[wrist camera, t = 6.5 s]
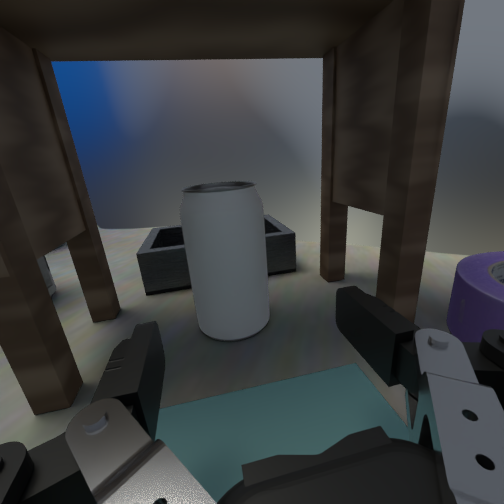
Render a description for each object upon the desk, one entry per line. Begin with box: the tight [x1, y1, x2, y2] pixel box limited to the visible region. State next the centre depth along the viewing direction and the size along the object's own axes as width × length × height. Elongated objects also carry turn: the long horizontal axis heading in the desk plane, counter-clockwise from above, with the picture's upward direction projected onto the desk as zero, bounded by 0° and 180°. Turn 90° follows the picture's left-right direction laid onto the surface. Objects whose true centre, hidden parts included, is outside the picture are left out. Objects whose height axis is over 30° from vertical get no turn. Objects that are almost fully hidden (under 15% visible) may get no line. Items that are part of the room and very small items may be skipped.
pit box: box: [136, 215, 296, 295], centre depth 36 cm, size 12×18×5 cm, turn 102°
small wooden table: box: [0, 0, 465, 415], centre depth 20 cm, size 13×26×24 cm, turn 102°
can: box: [180, 181, 270, 341], centre depth 22 cm, size 6×6×12 cm
